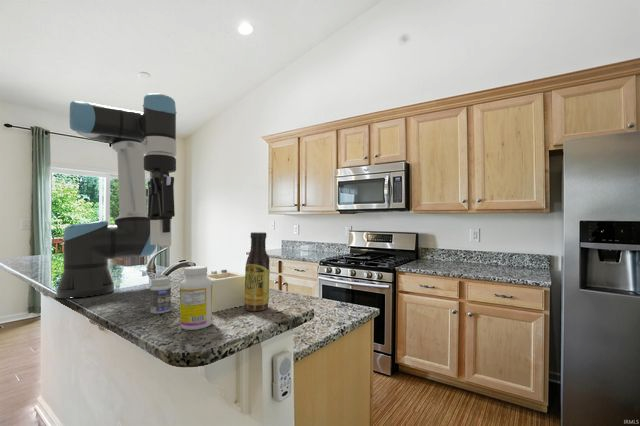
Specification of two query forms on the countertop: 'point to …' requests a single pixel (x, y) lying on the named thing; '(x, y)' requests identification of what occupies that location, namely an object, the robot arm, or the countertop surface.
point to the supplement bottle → (195, 299)
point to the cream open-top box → (227, 289)
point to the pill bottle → (160, 295)
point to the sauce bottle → (257, 274)
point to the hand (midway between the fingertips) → (160, 244)
